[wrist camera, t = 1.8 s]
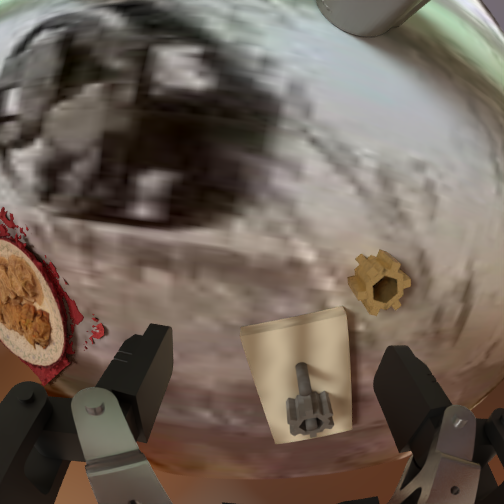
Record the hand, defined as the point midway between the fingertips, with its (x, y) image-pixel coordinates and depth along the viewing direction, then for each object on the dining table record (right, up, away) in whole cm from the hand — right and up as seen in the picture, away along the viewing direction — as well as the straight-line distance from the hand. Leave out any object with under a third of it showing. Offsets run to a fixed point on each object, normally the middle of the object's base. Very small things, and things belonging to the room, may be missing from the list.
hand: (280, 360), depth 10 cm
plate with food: (-37, -3, +25) cm, 45 cm away
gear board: (+6, -14, +26) cm, 30 cm away
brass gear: (+13, +1, +21) cm, 25 cm away
